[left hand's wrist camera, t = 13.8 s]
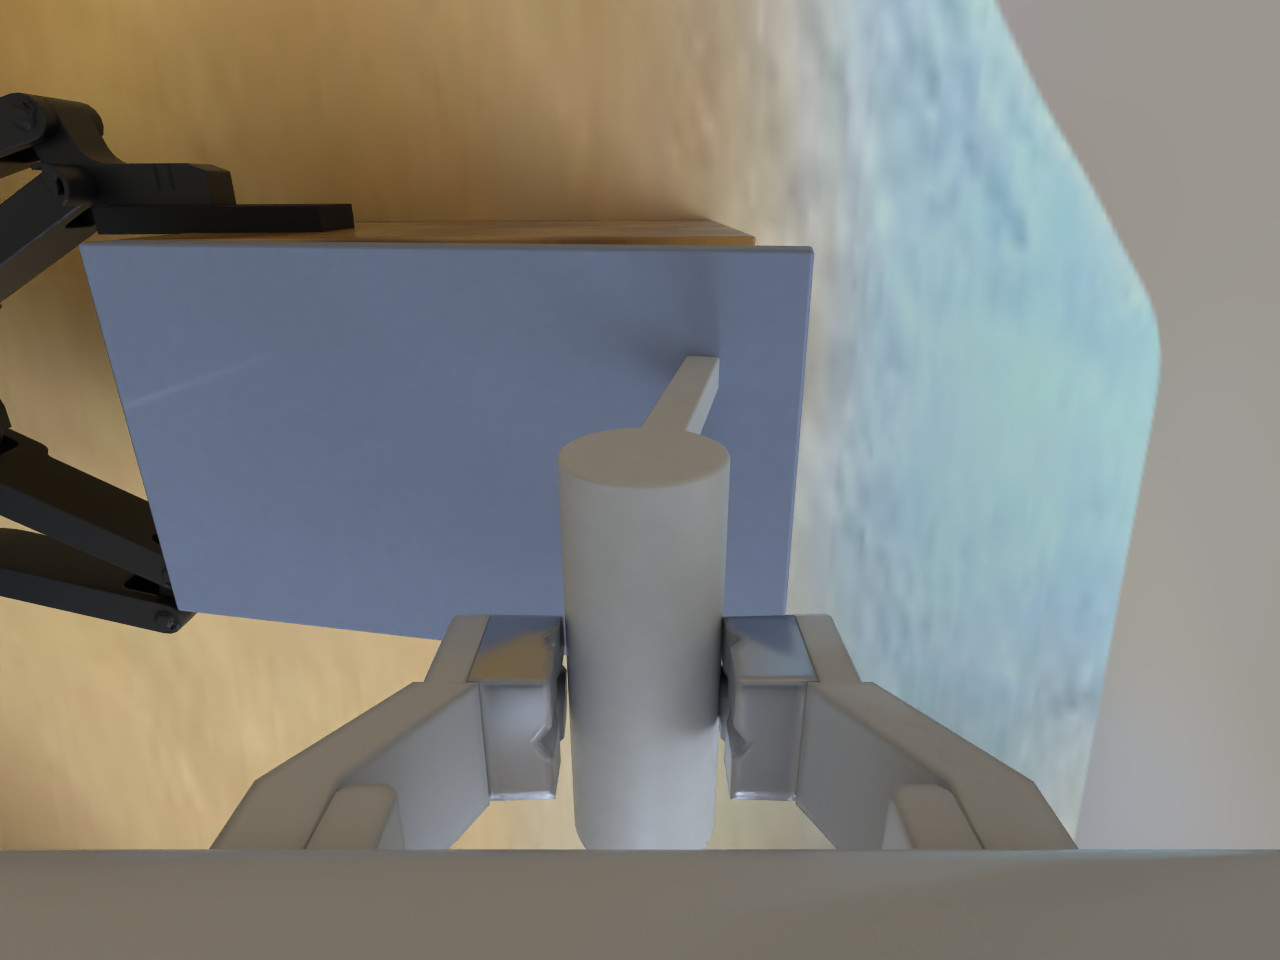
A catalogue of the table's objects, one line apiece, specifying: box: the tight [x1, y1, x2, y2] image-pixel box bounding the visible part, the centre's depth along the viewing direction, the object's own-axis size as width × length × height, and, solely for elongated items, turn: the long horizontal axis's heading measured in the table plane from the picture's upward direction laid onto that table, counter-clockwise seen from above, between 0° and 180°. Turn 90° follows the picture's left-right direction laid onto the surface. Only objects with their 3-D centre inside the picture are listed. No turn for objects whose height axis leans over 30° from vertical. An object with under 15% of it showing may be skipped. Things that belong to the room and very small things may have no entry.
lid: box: [78, 240, 814, 850], centre depth 15 cm, size 17×10×9 cm, turn 90°
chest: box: [120, 220, 755, 246], centre depth 25 cm, size 16×10×11 cm, turn 90°
